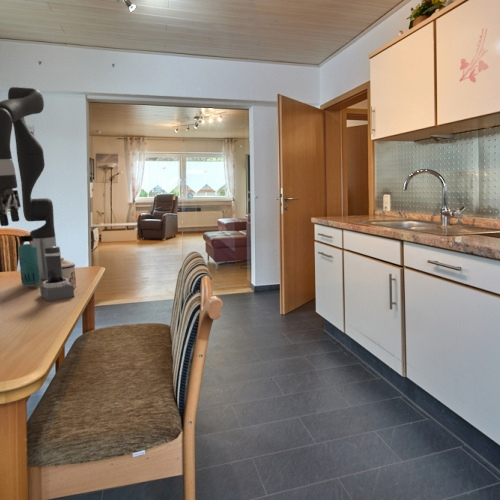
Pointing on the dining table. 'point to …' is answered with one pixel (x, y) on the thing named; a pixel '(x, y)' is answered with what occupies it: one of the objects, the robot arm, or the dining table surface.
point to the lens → (53, 264)
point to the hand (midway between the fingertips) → (10, 223)
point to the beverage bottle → (28, 262)
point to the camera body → (56, 290)
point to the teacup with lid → (68, 271)
